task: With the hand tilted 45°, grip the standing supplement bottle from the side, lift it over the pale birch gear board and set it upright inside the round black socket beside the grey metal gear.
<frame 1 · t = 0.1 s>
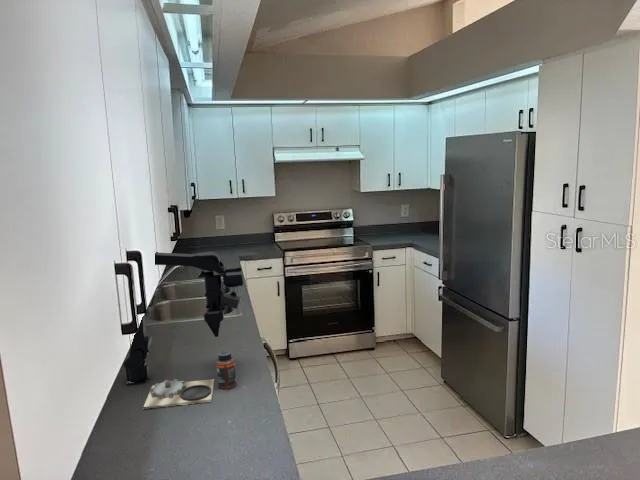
hand: (217, 332, 168), 15 cm above the countertop, tool pointing down, fingers open, 9 cm apart
gear board: (180, 395, 154), on the countertop
supplement bottle: (227, 386, 159), on the countertop
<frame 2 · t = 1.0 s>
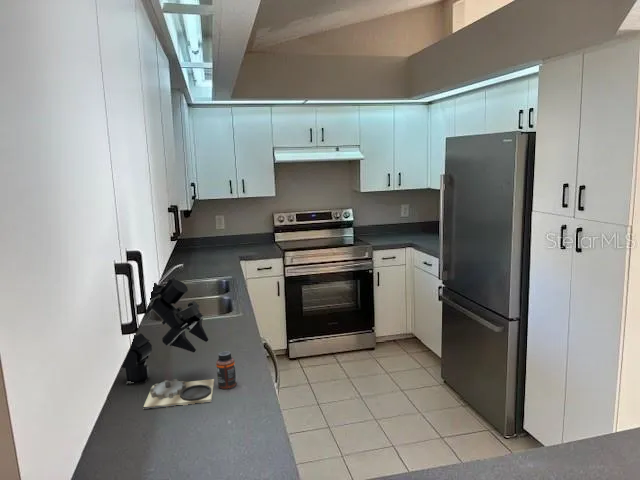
hand: (201, 346, 159), 13 cm above the countertop, tool tilted 45°, fingers open, 9 cm apart
nothing on the countertop moved.
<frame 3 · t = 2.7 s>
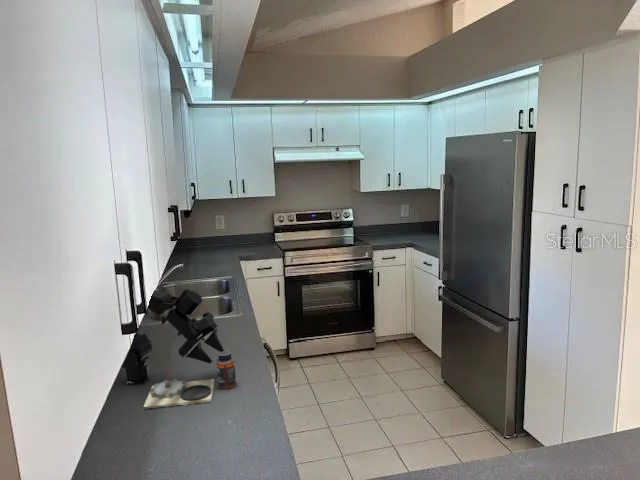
hand: (217, 356, 158), 10 cm above the countertop, tool tilted 45°, fingers open, 9 cm apart
nothing on the countertop moved.
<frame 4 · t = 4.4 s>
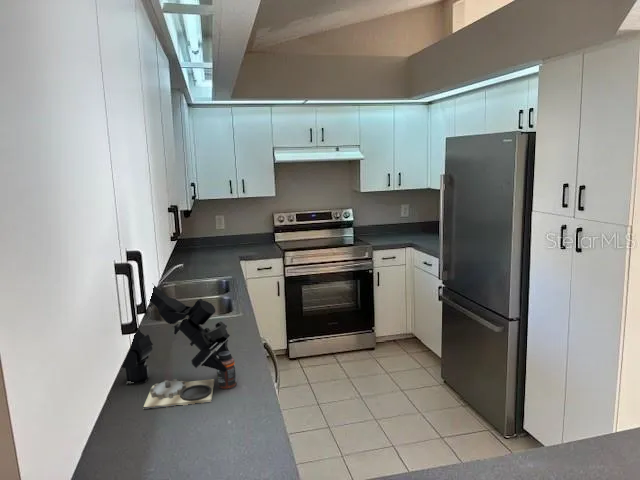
hand: (229, 366, 158), 7 cm above the countertop, tool tilted 45°, fingers closed on supplement bottle, 6 cm apart
supplement bottle: (227, 386, 159), on the countertop, touching gripper
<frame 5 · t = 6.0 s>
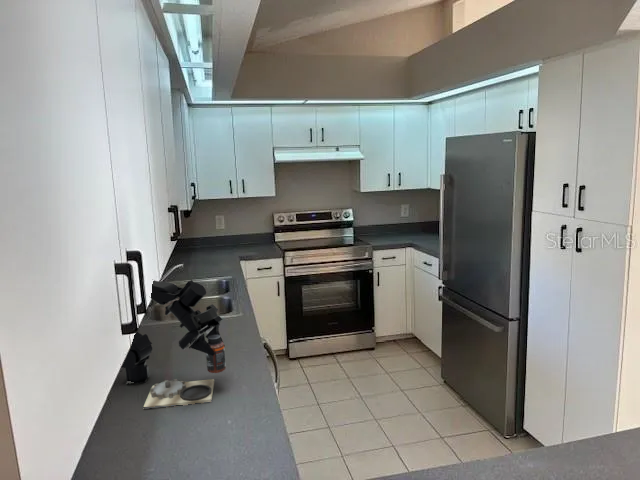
hand: (219, 350, 154), 13 cm above the countertop, tool tilted 45°, fingers closed on supplement bottle, 6 cm apart
supplement bottle: (216, 370, 156), point 6 cm above the countertop, touching gripper
when the fingers open (9 cm above the countertop, at t = 8.0 s): supplement bottle stays where it is, resting on gear board.
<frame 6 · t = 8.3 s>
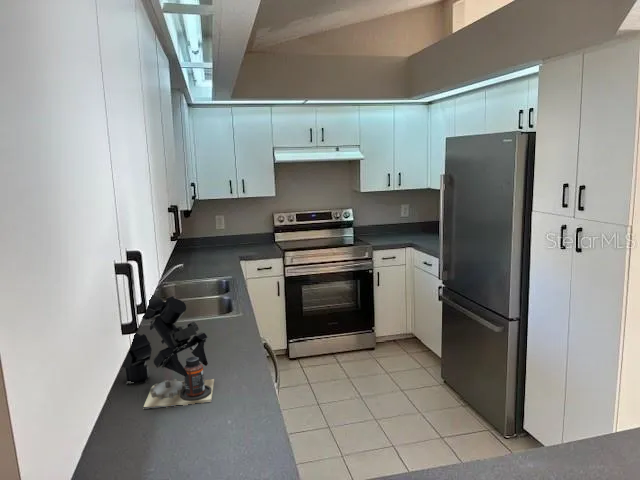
hand: (197, 370, 150), 9 cm above the countertop, tool tilted 45°, fingers open, 8 cm apart
supplement bottle: (195, 393, 152), point 1 cm above the countertop, touching gear board
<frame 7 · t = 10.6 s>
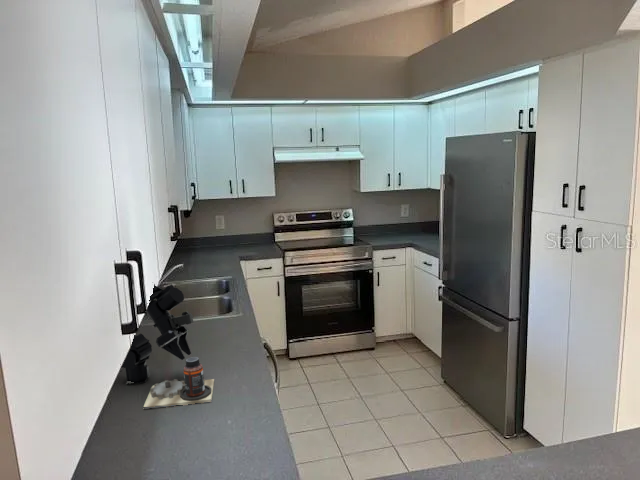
hand: (186, 356, 158), 10 cm above the countertop, tool tilted 35°, fingers open, 9 cm apart
nothing on the countertop moved.
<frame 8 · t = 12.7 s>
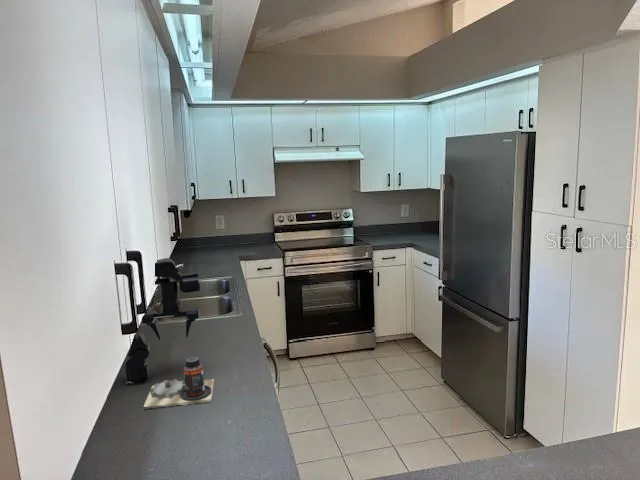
hand: (173, 338, 168), 13 cm above the countertop, tool pointing down, fingers open, 9 cm apart
nothing on the countertop moved.
at the end: supplement bottle 0.1 cm from the target spot, point 0.9 cm above the countertop; supplement bottle tilted 0°; the gripper is holding nothing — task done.
